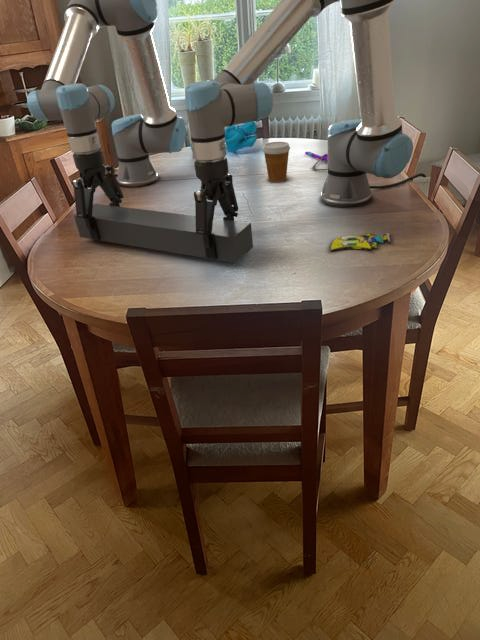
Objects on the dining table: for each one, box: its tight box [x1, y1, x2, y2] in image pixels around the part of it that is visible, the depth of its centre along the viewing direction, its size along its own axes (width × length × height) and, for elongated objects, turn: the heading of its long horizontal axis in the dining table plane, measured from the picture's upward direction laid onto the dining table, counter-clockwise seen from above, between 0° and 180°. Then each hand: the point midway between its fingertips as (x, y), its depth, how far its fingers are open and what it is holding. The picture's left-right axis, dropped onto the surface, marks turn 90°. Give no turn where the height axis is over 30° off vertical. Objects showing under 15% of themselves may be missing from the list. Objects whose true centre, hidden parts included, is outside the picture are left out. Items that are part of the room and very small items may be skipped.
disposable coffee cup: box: [262, 141, 291, 183], centre depth 169 cm, size 10×10×12 cm
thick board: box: [73, 203, 254, 264], centre depth 127 cm, size 51×9×7 cm, turn 62°
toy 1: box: [189, 121, 258, 154], centre depth 209 cm, size 17×11×30 cm
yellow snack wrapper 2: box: [330, 232, 391, 252], centre depth 122 cm, size 10×1×15 cm
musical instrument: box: [304, 151, 328, 171], centre depth 185 cm, size 24×2×20 cm
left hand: (107, 231), depth 136 cm, fingers closed on thick board, 9 cm apart
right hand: (221, 249), depth 120 cm, fingers closed on thick board, 9 cm apart
